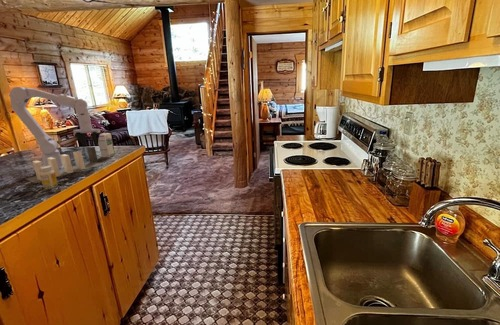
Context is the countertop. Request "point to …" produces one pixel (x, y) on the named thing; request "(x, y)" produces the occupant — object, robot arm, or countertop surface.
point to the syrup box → (106, 145)
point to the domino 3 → (66, 163)
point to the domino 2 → (54, 165)
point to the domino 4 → (79, 160)
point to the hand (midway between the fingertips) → (90, 145)
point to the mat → (62, 172)
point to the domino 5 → (92, 154)
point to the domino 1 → (37, 168)
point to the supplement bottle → (48, 177)
